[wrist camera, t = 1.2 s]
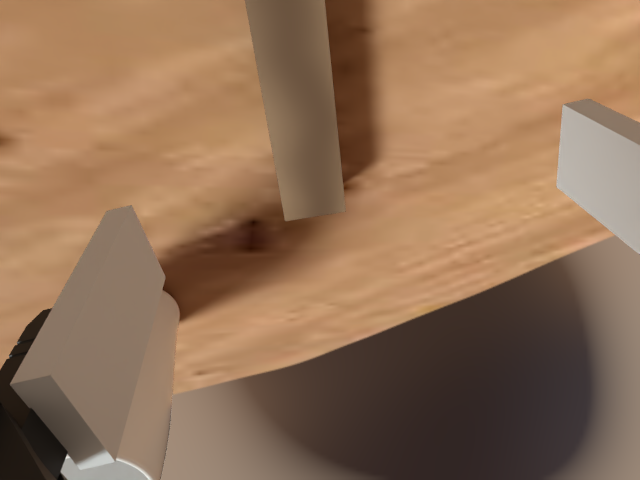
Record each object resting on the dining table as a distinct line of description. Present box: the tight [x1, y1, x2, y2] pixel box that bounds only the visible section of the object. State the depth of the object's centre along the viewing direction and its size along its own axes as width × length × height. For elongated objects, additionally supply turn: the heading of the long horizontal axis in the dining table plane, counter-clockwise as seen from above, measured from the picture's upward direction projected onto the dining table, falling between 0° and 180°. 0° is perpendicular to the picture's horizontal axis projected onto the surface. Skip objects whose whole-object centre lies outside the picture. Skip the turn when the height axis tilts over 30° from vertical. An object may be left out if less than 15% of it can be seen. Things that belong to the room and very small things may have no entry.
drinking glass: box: [61, 290, 180, 480], centre depth 32 cm, size 7×7×15 cm
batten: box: [245, 0, 346, 221], centre depth 27 cm, size 4×22×4 cm, turn 7°
